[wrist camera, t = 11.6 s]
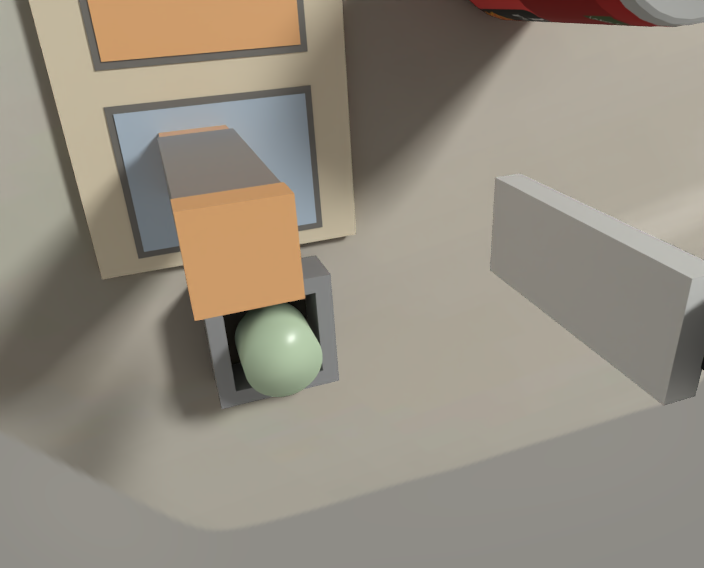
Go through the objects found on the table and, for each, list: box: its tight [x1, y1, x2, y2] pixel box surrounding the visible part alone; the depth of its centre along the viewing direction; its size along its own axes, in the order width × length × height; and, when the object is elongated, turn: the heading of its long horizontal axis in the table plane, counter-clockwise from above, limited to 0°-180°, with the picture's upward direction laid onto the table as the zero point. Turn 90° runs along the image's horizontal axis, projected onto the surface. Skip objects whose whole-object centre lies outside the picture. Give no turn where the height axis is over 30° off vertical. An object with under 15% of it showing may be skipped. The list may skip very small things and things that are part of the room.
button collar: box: [204, 256, 339, 409], centre depth 30 cm, size 6×6×2 cm
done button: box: [235, 303, 323, 397], centre depth 29 cm, size 4×4×3 cm
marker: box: [157, 125, 305, 321], centre depth 21 cm, size 3×3×12 cm
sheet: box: [29, 0, 356, 280], centre depth 25 cm, size 17×12×1 cm
